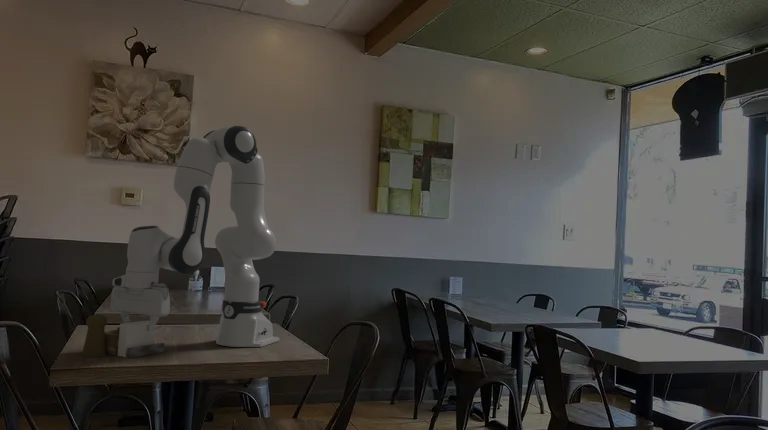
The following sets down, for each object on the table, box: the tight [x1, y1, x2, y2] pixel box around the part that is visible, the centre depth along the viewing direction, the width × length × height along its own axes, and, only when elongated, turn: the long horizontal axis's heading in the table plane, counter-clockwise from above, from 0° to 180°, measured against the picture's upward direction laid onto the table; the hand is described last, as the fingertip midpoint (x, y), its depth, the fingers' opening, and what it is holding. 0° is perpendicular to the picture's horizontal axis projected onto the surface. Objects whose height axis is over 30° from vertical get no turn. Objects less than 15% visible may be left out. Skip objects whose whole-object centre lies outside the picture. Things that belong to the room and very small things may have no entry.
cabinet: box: [105, 326, 165, 359], centre depth 168 cm, size 12×15×8 cm
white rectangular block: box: [117, 319, 157, 358], centre depth 166 cm, size 10×4×9 cm, turn 154°
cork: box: [81, 314, 108, 358], centre depth 161 cm, size 6×6×11 cm
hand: (138, 329), depth 166 cm, fingers open, 8 cm apart
